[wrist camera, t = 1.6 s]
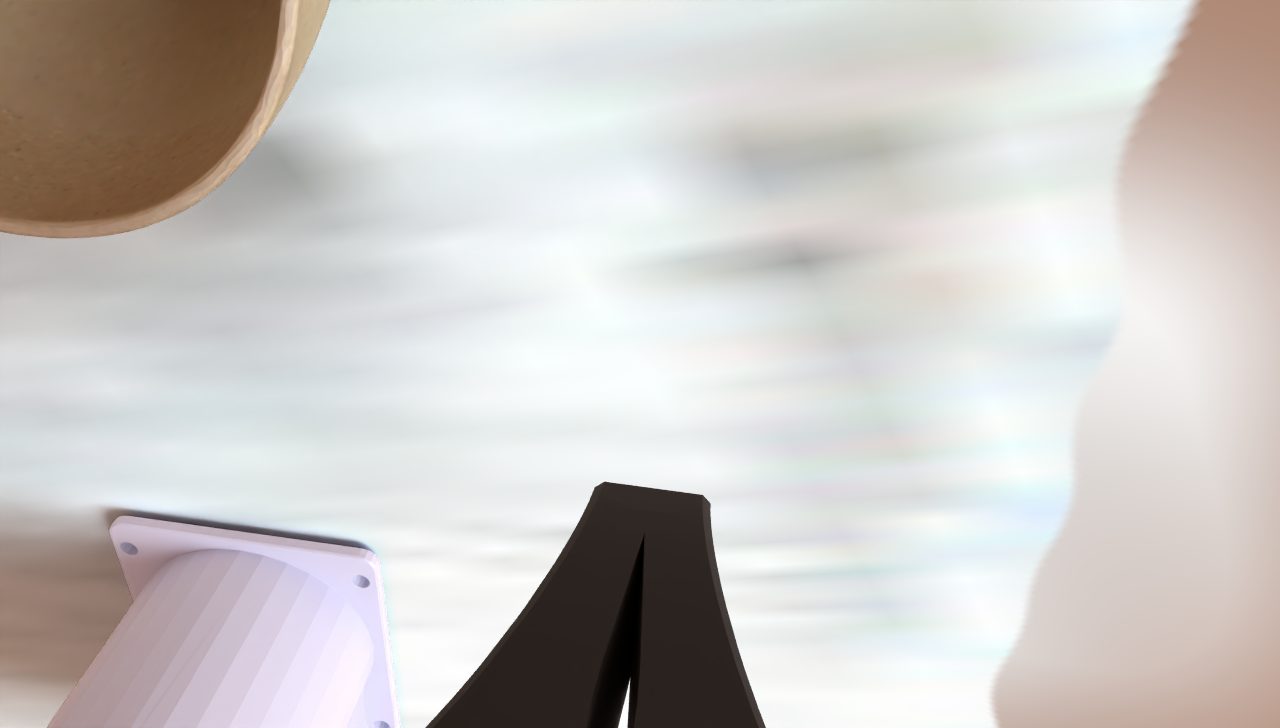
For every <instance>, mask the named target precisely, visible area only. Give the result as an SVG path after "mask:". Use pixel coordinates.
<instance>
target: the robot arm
mask: <svg viewBox="0 0 1280 728" xmlns="http://www.w3.org/2000/svg"><path fill="white" fill-rule="evenodd" d="M109 533H110V536H111V539H112V542H113V545H114V548H115V551H116V553H117V556H118V559H119V562H120V565H121V568H122V571H123V574H124V576H125V579H126V582H127V585H128V588H129V591H130V594H131V597H132V599H133V604H132V605H131V607H130V608H129V610H128V611H127V613H126V614H125V615H124V617H123V618H122V620H121V621H120V623H119V624H118V625H117V627H116V628H115V630H114V631H113V633H112V634H111V636H110V637H109V638H108V640H107V641H106V643H105V644H104V646H103V647H102V648H101V650H100V651H99V653H98V654H97V656H96V657H95V659H94V660H93V661H92V663H91V664H90V666H89V667H88V669H87V670H86V671H85V673H84V674H83V676H82V677H81V679H80V680H79V682H78V683H77V684H76V686H75V687H74V689H73V690H72V692H71V693H70V694H69V696H68V697H67V699H66V700H65V702H64V703H63V705H62V706H61V707H60V709H59V710H58V712H57V713H56V715H55V716H54V717H53V719H52V720H51V722H50V723H49V725H48V726H47V728H401V722H400V715H399V707H398V699H397V691H396V683H395V675H394V667H393V659H392V651H391V643H390V635H389V627H388V619H387V611H386V604H385V596H384V588H383V580H382V572H381V564H380V561H379V558H378V557H377V556H376V555H375V554H374V553H373V552H371V551H369V550H366V549H362V548H355V547H348V546H341V545H334V544H327V543H319V542H312V541H305V540H298V539H291V538H284V537H276V536H269V535H262V534H255V533H248V532H241V531H233V530H226V529H219V528H212V527H205V526H198V525H191V524H183V523H176V522H169V521H162V520H155V519H148V518H140V517H133V516H120V517H118V518H116V520H115V521H114V522H113V523H112V525H111V526H110V528H109ZM363 576H364V577H363ZM629 681H630V693H629V711H628V728H766V727H765V724H764V722H763V719H762V717H761V714H760V711H759V709H758V706H757V703H756V700H755V697H754V695H753V692H752V689H751V686H750V683H749V680H748V678H747V675H746V672H745V669H744V666H743V662H742V659H741V656H740V653H739V650H738V647H737V643H736V639H735V636H734V632H733V629H732V625H731V622H730V618H729V615H728V611H727V608H726V604H725V600H724V596H723V591H722V587H721V583H720V578H719V573H718V568H717V563H716V558H715V552H714V546H713V538H712V530H711V517H710V502H709V501H708V500H707V499H706V498H705V497H704V496H703V495H698V494H691V493H684V492H676V491H669V490H662V489H654V488H647V487H639V486H632V485H625V484H617V483H610V482H603V483H602V484H600V485H598V486H596V487H595V488H594V491H593V493H592V496H591V498H590V501H589V503H588V505H587V507H586V509H585V511H584V513H583V515H582V517H581V519H580V521H579V523H578V524H577V526H576V528H575V530H574V532H573V533H572V535H571V537H570V539H569V540H568V542H567V544H566V545H565V547H564V549H563V550H562V552H561V554H560V555H559V557H558V559H557V560H556V562H555V563H554V565H553V566H552V568H551V569H550V571H549V572H548V574H547V575H546V577H545V578H544V580H543V581H542V583H541V584H540V586H539V587H538V589H537V590H536V592H535V593H534V595H533V596H532V598H531V599H530V601H529V602H528V604H527V605H526V606H525V608H524V609H523V611H522V612H521V613H520V615H519V616H518V617H517V619H516V620H515V621H514V623H513V624H512V625H511V627H510V628H509V629H508V630H507V632H506V633H505V634H504V636H503V637H502V638H501V639H500V641H499V642H498V643H497V645H496V646H495V647H494V649H493V650H492V651H491V652H490V654H489V655H488V656H487V658H486V659H485V660H484V661H483V663H482V664H481V665H480V666H479V668H478V669H477V670H476V671H475V672H474V674H473V675H472V676H471V677H470V678H469V680H468V681H467V682H466V683H465V684H464V685H463V687H462V688H461V689H460V690H459V691H458V692H457V693H456V695H455V696H454V697H453V698H452V699H451V700H450V701H449V703H448V704H447V705H446V706H445V707H444V708H443V709H442V710H441V711H440V712H439V714H438V715H437V716H436V717H435V718H434V719H433V720H432V721H431V722H430V723H429V724H428V726H427V727H426V728H618V725H619V721H620V717H621V713H622V709H623V705H624V701H625V697H626V693H627V689H628V685H629Z"/></svg>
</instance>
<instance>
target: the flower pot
mask: <svg viewBox="0 0 1280 728" xmlns="http://www.w3.org/2000/svg"><path fill="white" fill-rule="evenodd" d="M329 3H330V0H0V232H5V233H11V234H17V235H27V236H36V237H47V238H87V237H98V236H107V235H113V234H118V233H124V232H129V231H132V230H136V229H140V228H143V227H146V226H149V225H152V224H154V223H157V222H160V221H162V220H165V219H167V218H170V217H172V216H174V215H176V214H178V213H180V212H182V211H184V210H186V209H188V208H189V207H191V206H193V205H195V204H196V203H198V202H199V201H200V200H202V199H203V198H204V197H205V196H207V195H208V194H209V193H210V192H211V191H213V190H214V189H215V188H216V187H218V186H219V185H220V184H222V183H223V182H224V181H225V180H226V179H227V178H228V177H229V176H230V175H231V174H232V173H233V172H234V171H235V170H236V169H237V168H238V167H239V165H240V164H241V163H242V162H243V161H244V159H245V158H246V157H247V156H248V154H249V153H250V152H251V151H252V149H253V148H254V147H255V145H256V144H257V143H258V141H259V140H260V139H261V137H262V136H263V135H264V133H265V132H266V130H267V129H268V128H269V126H270V125H271V124H272V122H273V121H274V119H275V117H276V116H277V114H278V113H279V111H280V109H281V108H282V106H283V105H284V103H285V101H286V100H287V98H288V96H289V94H290V93H291V91H292V89H293V87H294V85H295V83H296V82H297V80H298V78H299V76H300V74H301V73H302V71H303V68H304V66H305V64H306V62H307V59H308V57H309V55H310V53H311V51H312V48H313V46H314V44H315V42H316V39H317V36H318V34H319V31H320V29H321V26H322V23H323V21H324V18H325V15H326V13H327V10H328V6H329Z"/></svg>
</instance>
